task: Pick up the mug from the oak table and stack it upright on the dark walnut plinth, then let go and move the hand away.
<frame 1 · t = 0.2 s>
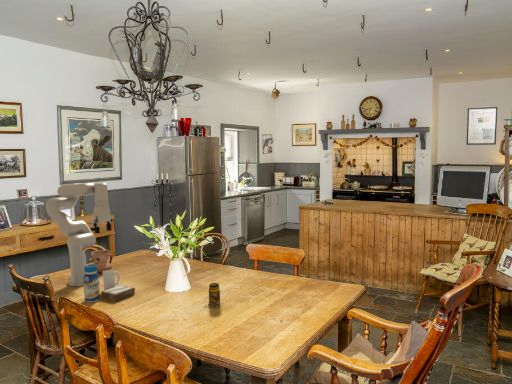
hand: (103, 231, 257), 36 cm above the table, tool pointing down, fingers open, 9 cm apart
condiment: (213, 305, 232), on the table
mug: (112, 290, 259), on the table
beverage bottle: (92, 300, 242), on the table
ceramic jug: (102, 271, 300), on the table
walnut plinth: (118, 296, 248), on the table
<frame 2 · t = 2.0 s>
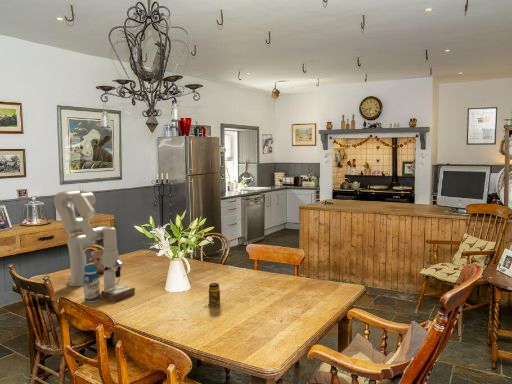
hand: (112, 276, 258), 9 cm above the table, tool pointing down, fingers open, 9 cm apart
mug: (112, 290, 259), on the table, touching gripper
everything else where it was.
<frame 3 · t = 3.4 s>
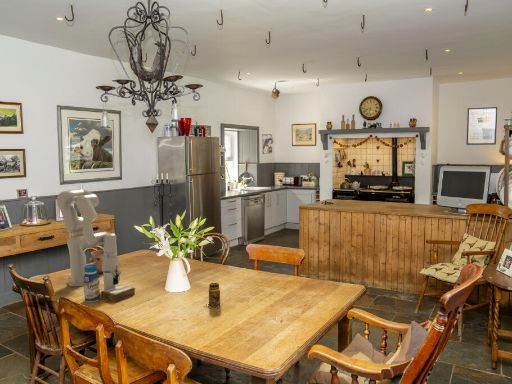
hand: (111, 282, 259), 5 cm above the table, tool pointing down, fingers closed on mug, 6 cm apart
mug: (112, 290, 259), on the table, touching gripper
everything else where it was.
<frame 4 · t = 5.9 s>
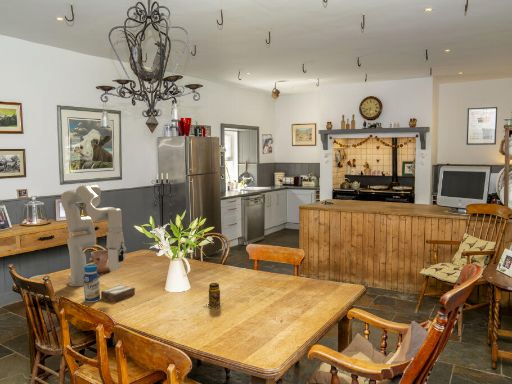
hand: (116, 260, 246), 21 cm above the table, tool pointing down, fingers closed on mug, 6 cm apart
mug: (117, 268, 246), point 17 cm above the table, touching gripper
everything else where it was.
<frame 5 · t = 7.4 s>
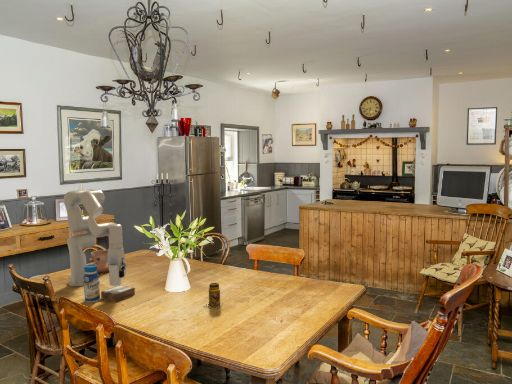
hand: (117, 275, 247), 12 cm above the table, tool pointing down, fingers closed on mug, 6 cm apart
mug: (118, 283, 247), point 7 cm above the table, touching gripper
everything else where it was.
when the fingers open (10 cm above the table, at t = 8.7 s): mug drops 2 cm, resting on walnut plinth.
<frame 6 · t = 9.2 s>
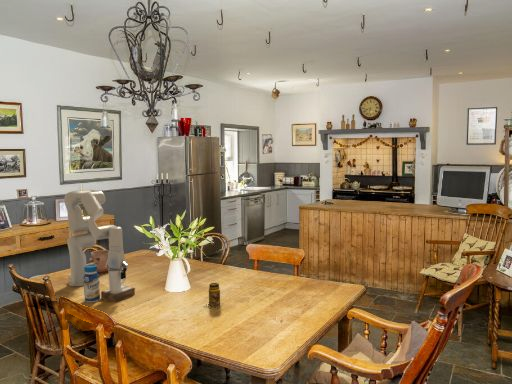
hand: (117, 277, 247), 11 cm above the table, tool pointing down, fingers open, 9 cm apart
mug: (118, 289, 247), point 4 cm above the table, touching walnut plinth
everything else where it was.
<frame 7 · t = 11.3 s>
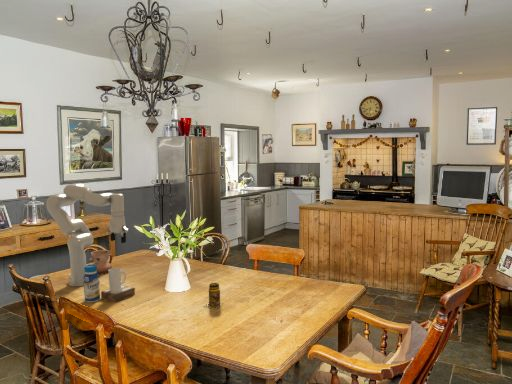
hand: (118, 241, 262), 29 cm above the table, tool pointing down, fingers open, 9 cm apart
nothing on the table moved.
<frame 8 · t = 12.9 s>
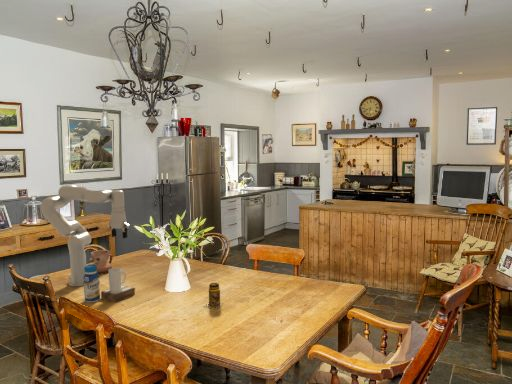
hand: (119, 237, 268), 30 cm above the table, tool pointing down, fingers open, 9 cm apart
nothing on the table moved.
at the end: mug inside the target area on the walnut plinth (0.2 cm from its centre), point 4.0 cm above the walnut plinth's base; mug tilted 0°; the gripper is holding nothing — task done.
